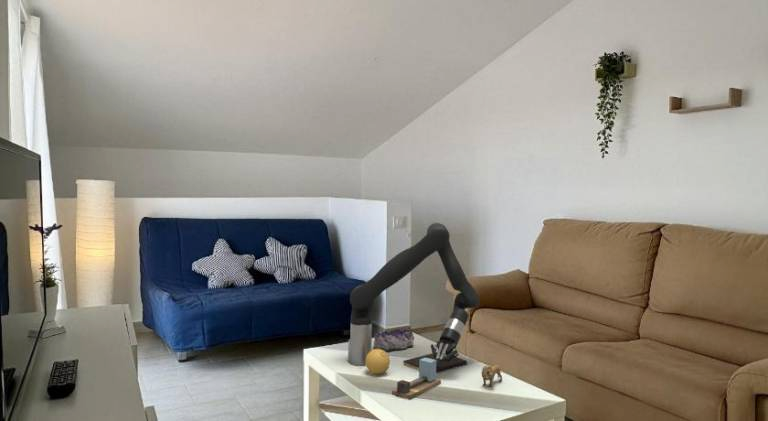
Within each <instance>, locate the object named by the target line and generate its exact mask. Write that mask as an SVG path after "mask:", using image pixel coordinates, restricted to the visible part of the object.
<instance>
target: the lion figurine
mask: <svg viewBox="0 0 768 421" xmlns="http://www.w3.org/2000/svg"><path fill="white" fill-rule="evenodd" d="M496 375H497V377H496V378H497V379H499V380H498V381H499V382H500V383H502V382H503V375H502V373H501V368H500V366H499V365H492V366H491V365H489V364H485V365H484V366H482V369H481V377H482V380H483V381H482V382H483V384H482V387H487V381H488V382H489V384H488V385H489V388H493V382H494V379H495V376H496Z"/></svg>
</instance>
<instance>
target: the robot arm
mask: <svg viewBox="0 0 768 421" xmlns="http://www.w3.org/2000/svg"><path fill="white" fill-rule="evenodd" d="M436 252H437V254H438V256H439V258H440V261H441V263H442V265H443V268H444V271H445V274H446V277H447V278H448V280H449V283H450V285H451V287H452V288H453V289H454V290H455V291H458V293H457V294H456V296H455V297H454V300H453V308H452V313H451V315H450V316H449V319H448V320H447V323H446V324H445V326H444V328H443V330H442V331H441V332H442V333H441V334H440V337H439V340H438V341H437V342H436V343H435V344H432V343H431V344H430V349H431V350H430V351H431V354H432V353H433V356H434V358H435V359H436V370H439V369H440V368H441V366H442V364H443V363H444V362H449V361H450V360H452V359H453V358H455V357H458V356H459V354H460V353H459V352H458V349H457V345H458V344H459V342H460V340H461V337H462V335H463V332H464V331H465V326H466V324H467V322H468V319H469V317H470V316H469V313H468V312H467V311H466V309H475V308H477V307H478V306H479V305H480V297H479V294H478V291H476V289H475V288H474V287H473V285H472V284H471V283H470V282H469V281H468V279H467V276H466V275H465V272H464V270H463V268H462V266H461V264H460V261H458V259H457V256H456V253H455V252H454V250H453V248H452V245H451V241H450V232H449V230H448V228H447V226H445V225H444V224H442V223H440V222H434V223H431V224H430V225H429V226H428V228H427V230H426V235H424V236H423V237H422V238H421V239H420V240H419V241H418V242H416V244H414V245H412V246H410V247H408V248H406V249H404V250H402V251H400V252H399V253H397V254H396V255H395V256H393V257H392V258H391V259H390V260H388V261H387V262H386V263H385V264H384V265H383V266H382V267H381V268H379V270H378V271H377V272H376V273H375V274H374V276H373V277H371V279H369V280H368V281H366V282H365V283H363V284H359V285H357V286H356V287H355V288H354V289H353V290H352V291H351V292H350V295H349V296H350V297H349V301H350V302H349V304H350V305H351V306H352V307H351V313H350V314H351V315H350V330H349V331H350V332H349V333H350V338H349V339H348V343H347V344H348V346H347V347H348V348H347V351H348V352H347V361H348V362H349V363H350V364H351V365H354V366H366V363H365V360H366V356H367V355H368V353H369V352H370V351H372V347H373V346H372V344H373V343H372V342H373V341H372V339H373V338H372V337H373V315H374V301H375V299H377V298H378V296H380V294H382V293H383V292H384V291H386V290H387V289H389V288H391V287H392V286H393V285H395V284H397V283H398V282H399V281H401V280H402V279H403V278H404V277H406V276H407V275H409V273H411V272H412V271H413V270H414V269H416V268H417V267H418V266H419V265H420V264H421V263H422V262H423V261H425V259H426V258H428V257H430V256H431V255H433V254H434V253H436Z"/></svg>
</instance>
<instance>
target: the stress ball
mask: <svg viewBox="0 0 768 421" xmlns="http://www.w3.org/2000/svg"><path fill="white" fill-rule="evenodd" d="M365 363H366V365H365V367H366V369H367V371H369V372H370V373H371V374H375V375H382V374H385V373H386V372H387V371H388V370H389V368H390V367H389V366H390V364H391V363H390V356H389V354H388V352H387V351H384V350H381V349H376V348H373V349H371V351H370V352H369V353H368V355H367V356H366V360H365Z"/></svg>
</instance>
